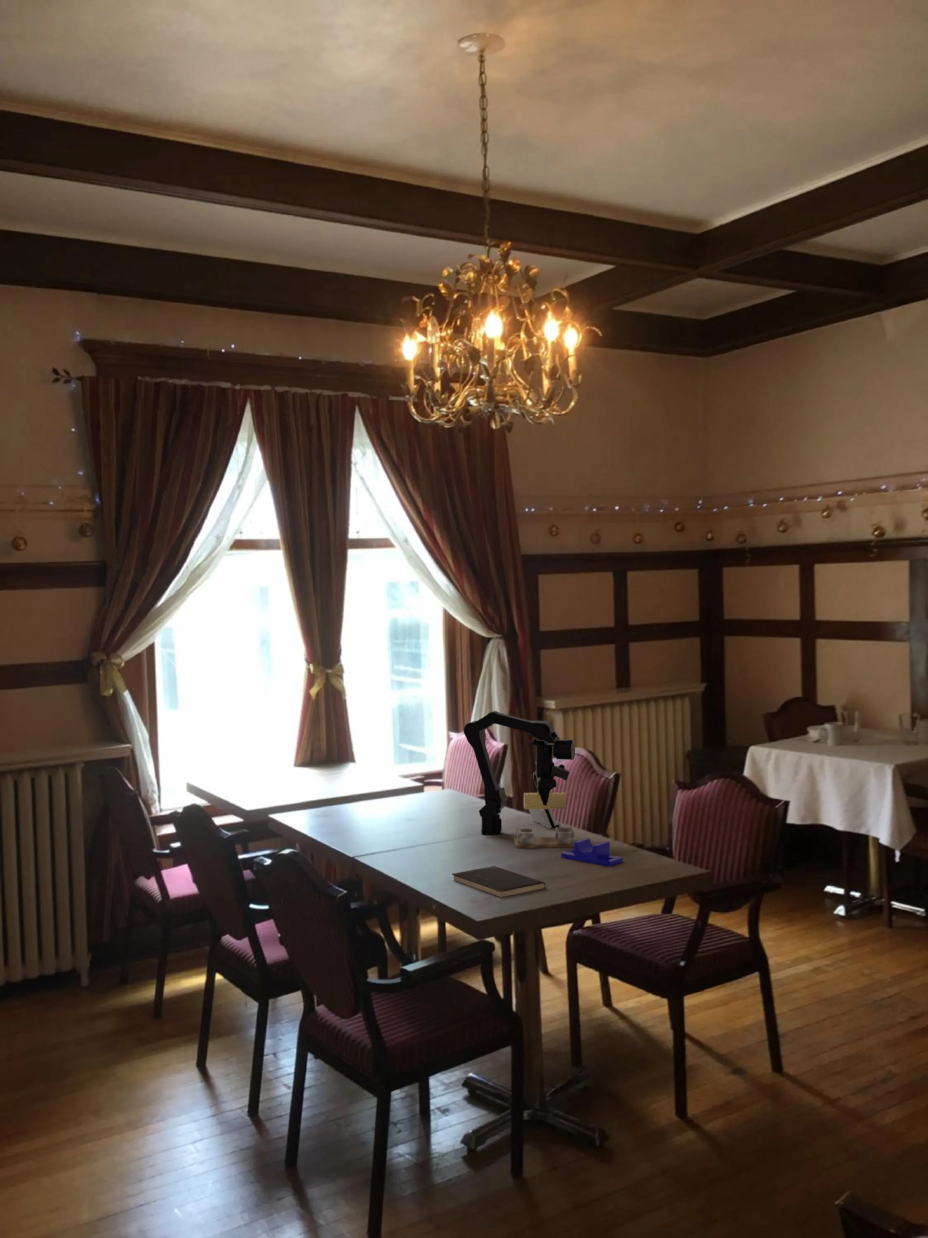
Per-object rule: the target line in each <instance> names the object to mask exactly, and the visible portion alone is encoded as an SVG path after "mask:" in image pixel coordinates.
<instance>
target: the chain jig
mask: <svg viewBox="0 0 928 1238" xmlns="http://www.w3.org/2000/svg"><path fill="white" fill-rule="evenodd" d="M554 827H555V829H554V830H555V831H554V832H555V836H535V832H534V831H533V828H532V827H516V828H515V834H516V837H513V843H514V845H515V848H516V849H528V848H534V849H537V848H538V849H539V848H547V849H548V848H574V842H576V840H575V831H574V830H573V828H572V827H571V826H566V827H565V826H564V827H563V826H561V827H558V826H554Z"/></svg>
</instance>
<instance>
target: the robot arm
mask: <svg viewBox="0 0 928 1238" xmlns="http://www.w3.org/2000/svg"><path fill="white" fill-rule="evenodd" d="M494 724H495V725H499V726H503V727H507V728H510V729H513V730H518V731H522V732H524V733H527V735H528V734H529V735H530V736H532V737H533V740H532V741H531V742H530V743H529V745H530V746H534V747H535V760H534V761H535V771H534V772H533V773H532V780H533V781H534V785H535V788H536V790H537V793H539V794H540V797H541V799H542V802H543V805H547V802H548V798H549V793H551V791H552V790H553V789H555V788H557V780H556V779H555V777H557V778H560V779H562V780H563V781H566V782H567V781H568V778H569V777H570V772H571V771H570V770H569V769H566V768H565V764H561V763H560V764H559V765H555V762H554V761H553V760H554V758H556V760H566V761H567V760H569V761H573V760H574V759H575V757H576V748H575V743H574V739H561V738H560V737H559V736H558V734H557V732H556V731H555V727H554V725H553V723H552V722H550V721H549V720H548V721H547V720H530V719H529V720H528V719H527V718H522V717H518V716H517V717H516V716H514V715H510V714H506V713H502V712H499V711H496V710H493V711H491V712H489V713H488V714H486V715H485V716H483V717H481V718H480V719H478V720H474V721H470V722H468V723H466V724H465V725H464V727H463V734H464V736H465V738H466V740H467V742H468V743H469V745H470V746H471V748H472V749H473V753H474V757H475V759H476V763H477V766H478V769H479V773H480V776H481V779H482V783H483V786H484V805H483V807H482V808H480V809H479V810H478V812H479V816H480V818H481V829H480V831H481V832H480V834H481V835H501V832H502V818H501V815H500V814H501V812H502V810H503V809H504V808H505V807H506V805H507V803H508V801H507V799H508V796H507V794H506V790H505V789H506V788H505V787H504V786H503V787H500V785H499V784H498V782H497V779H496V778H497V777H496V775H495V771H494V769H493V766H492V762H491V758H490V755H489V752H488V750H487V749H488V748H487V743H486V742H487V740H486V739H487V736H486V735H487V733H486V730H487V729H488V728H490V727H491V726H493V725H494ZM535 780H536V781H535Z"/></svg>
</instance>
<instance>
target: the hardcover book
mask: <svg viewBox="0 0 928 1238" xmlns="http://www.w3.org/2000/svg"><path fill="white" fill-rule="evenodd" d="M451 875H452V876H453V880H454V881H456V882H458V883H462V884H463V885H467V886H470V887H472V888H475V889H477V890H480V891H484V892H486V893H489V894H492V895H494V896H498V897H500V898H504V897H509V896H513V895H517V894H522V893H528V892H533V891H537V890H542V889H546V882H544V881H541V880H540V879H536V878H533V877H529V876H527V875H523V874H520V873H517V872H513V871H511V870H508V869H505V868H501V867H499V866H496V865H491V866H487V867H481V868H476V869H471V870H465V871H459V872H454V873H452V874H451Z"/></svg>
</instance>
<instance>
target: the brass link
mask: <svg viewBox="0 0 928 1238" xmlns="http://www.w3.org/2000/svg"><path fill="white" fill-rule="evenodd" d="M566 796H567V795H566V793H565V791H563V792H562V791H560V792H553V791H552V792H550V793H549V798H548V802H547V805H543V802H542V799H541V797H540V794H539V793H538V792H523V809H524V810H529V809H552V810H565V809H566V805H567V804H566V803H567V801H566V800H567V799H566Z"/></svg>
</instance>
